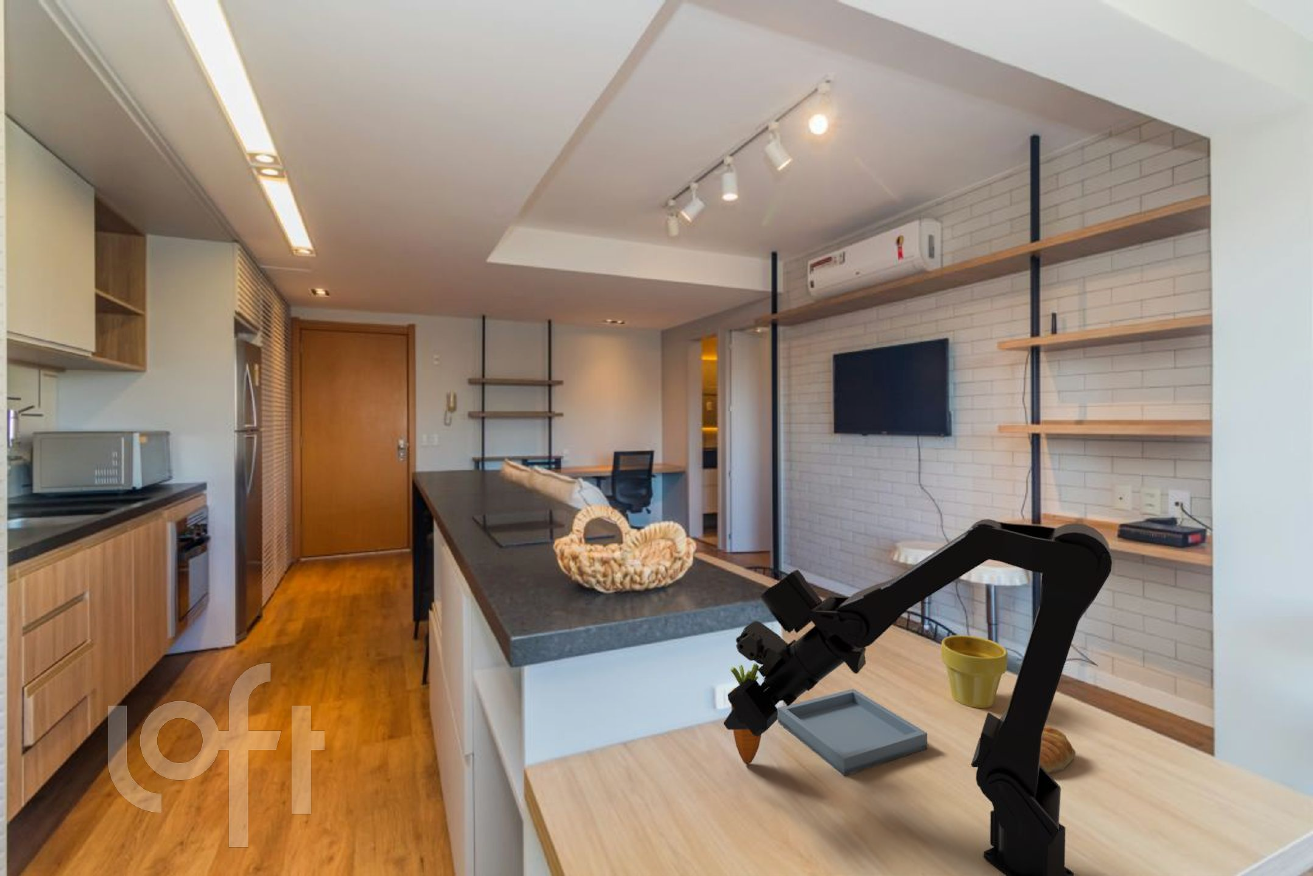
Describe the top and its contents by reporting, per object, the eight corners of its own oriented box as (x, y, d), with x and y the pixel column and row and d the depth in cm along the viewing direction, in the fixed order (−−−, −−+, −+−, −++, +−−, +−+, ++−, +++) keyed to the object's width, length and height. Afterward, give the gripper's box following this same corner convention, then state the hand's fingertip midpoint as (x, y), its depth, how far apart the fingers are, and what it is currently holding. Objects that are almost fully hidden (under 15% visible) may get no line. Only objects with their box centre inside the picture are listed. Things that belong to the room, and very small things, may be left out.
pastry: (1059, 785, 82) (1059, 758, 82) (1005, 765, 87) (1005, 739, 87) (1077, 758, 88) (1077, 733, 88) (1026, 740, 93) (1026, 716, 93)
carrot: (725, 769, 86) (724, 667, 86) (737, 751, 91) (736, 655, 90) (758, 778, 84) (757, 674, 83) (768, 760, 88) (768, 661, 88)
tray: (927, 749, 91) (927, 733, 91) (844, 775, 84) (844, 758, 84) (853, 702, 105) (853, 688, 105) (778, 722, 99) (778, 707, 99)
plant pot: (1014, 717, 100) (1015, 660, 99) (947, 710, 102) (948, 654, 102) (996, 689, 110) (997, 637, 109) (935, 683, 112) (936, 632, 112)
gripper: (797, 592, 92) (733, 647, 99) (740, 629, 76) (670, 691, 83) (848, 654, 87) (778, 707, 94) (799, 706, 72) (720, 765, 79)
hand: (738, 714), depth 88 cm, fingers open, 7 cm apart
